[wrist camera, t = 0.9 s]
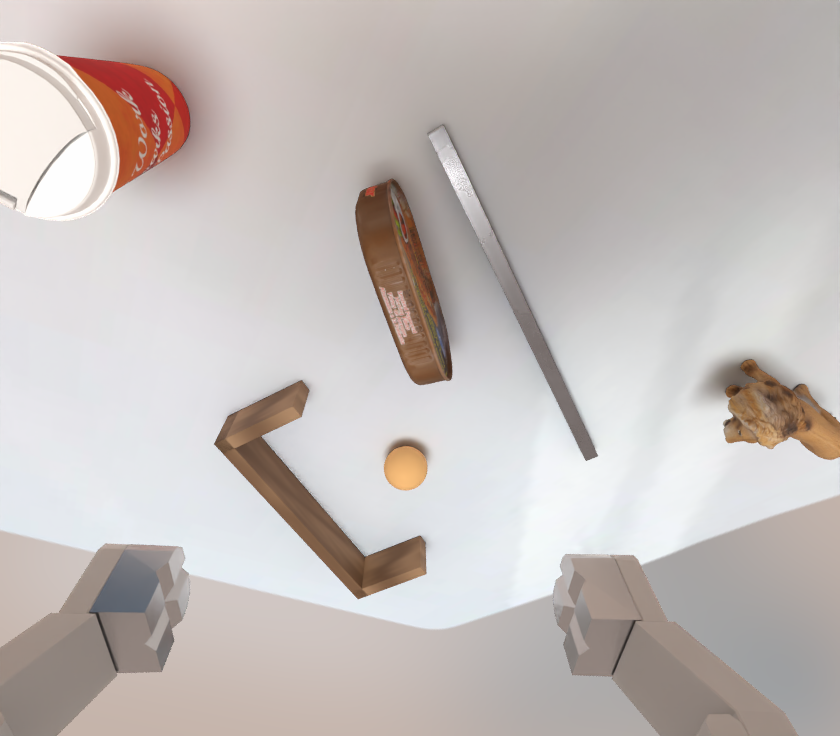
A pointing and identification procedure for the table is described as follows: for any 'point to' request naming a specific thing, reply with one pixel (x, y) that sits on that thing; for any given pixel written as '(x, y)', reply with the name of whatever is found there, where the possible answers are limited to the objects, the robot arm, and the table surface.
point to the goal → (310, 498)
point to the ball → (405, 468)
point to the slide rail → (509, 284)
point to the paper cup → (80, 129)
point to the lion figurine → (779, 415)
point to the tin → (403, 282)
